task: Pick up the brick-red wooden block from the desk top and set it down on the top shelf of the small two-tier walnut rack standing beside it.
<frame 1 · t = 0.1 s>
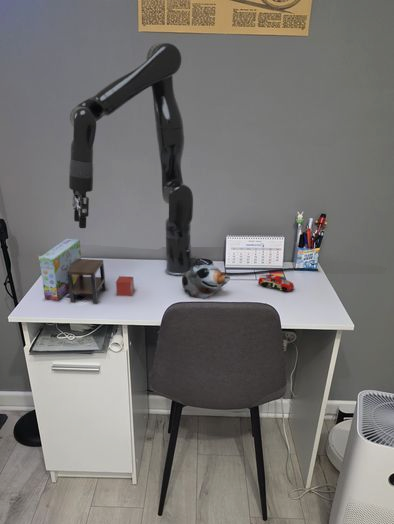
hand: (79, 224, 166), 22 cm above the table, tool pointing down, fingers open, 8 cm apart
snack box: (65, 288, 175), on the table
rack: (89, 295, 170), on the table
spotted animal figurine: (205, 293, 173), on the table
block: (125, 292, 172), on the table
race car: (275, 287, 178), on the table
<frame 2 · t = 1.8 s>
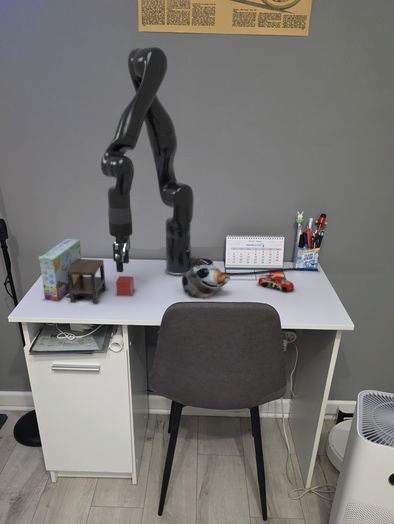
hand: (123, 267, 167), 9 cm above the table, tool pointing down, fingers open, 8 cm apart
nothing on the table moved.
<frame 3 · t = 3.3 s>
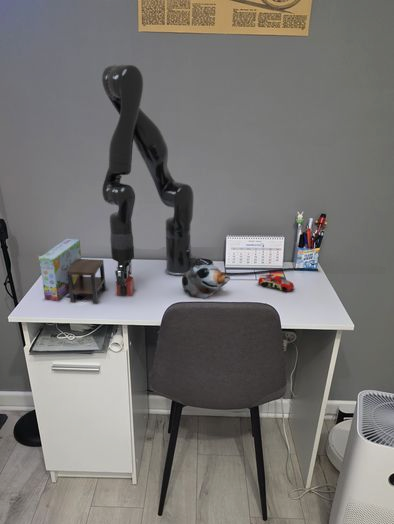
hand: (125, 291, 172), 0 cm above the table, tool pointing down, fingers closed on block, 5 cm apart
block: (125, 292, 172), on the table, touching gripper
everything else where it was.
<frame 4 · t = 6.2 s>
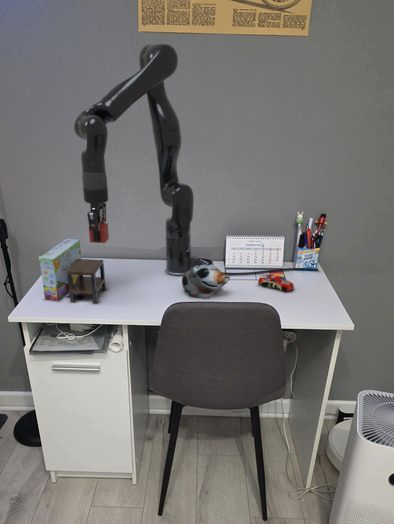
hand: (99, 239, 160), 20 cm above the table, tool pointing down, fingers closed on block, 5 cm apart
block: (99, 240, 161), point 19 cm above the table, touching gripper
everything else where it was.
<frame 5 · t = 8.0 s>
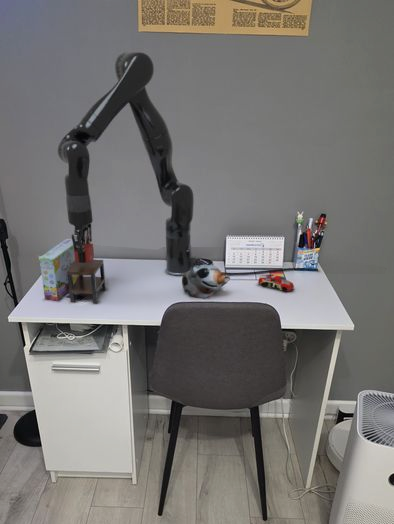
hand: (84, 259, 163), 13 cm above the table, tool pointing down, fingers closed on block, 5 cm apart
block: (84, 260, 163), point 13 cm above the table, touching gripper
everything else where it was.
when the fingers open (11 cm above the table, at t = 9.1 s): block stays where it is, resting on rack.
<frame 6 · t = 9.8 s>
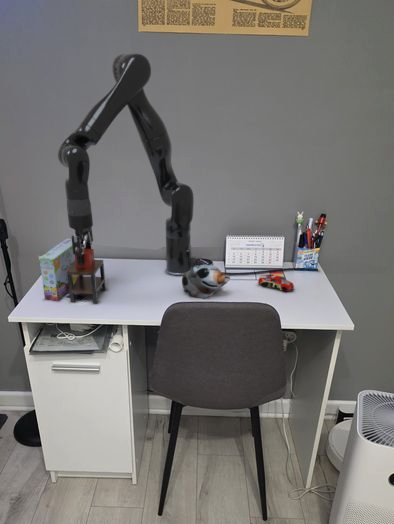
hand: (85, 260, 163), 13 cm above the table, tool pointing down, fingers open, 8 cm apart
block: (85, 265, 164), point 11 cm above the table, touching rack
everything else where it was.
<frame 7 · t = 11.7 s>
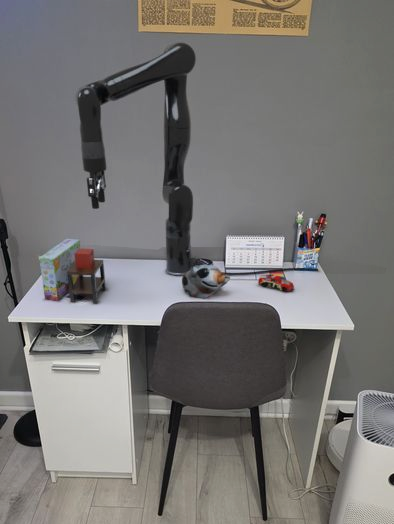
hand: (98, 205, 169), 27 cm above the table, tool pointing down, fingers open, 8 cm apart
nothing on the table moved.
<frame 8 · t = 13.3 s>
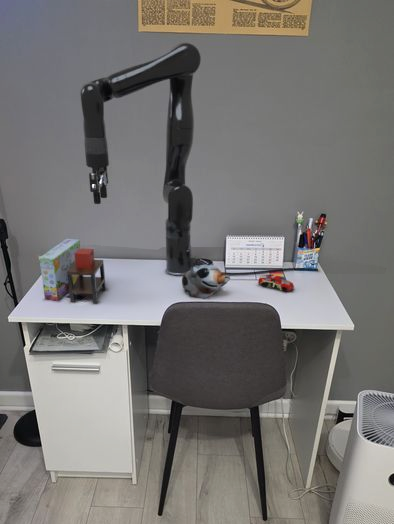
hand: (100, 200, 170), 28 cm above the table, tool pointing down, fingers open, 8 cm apart
nothing on the table moved.
at the end: block inside the target area on the rack (0.0 cm from its centre), point 11.0 cm above the rack's base; block tilted 0°; the gripper is holding nothing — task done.
